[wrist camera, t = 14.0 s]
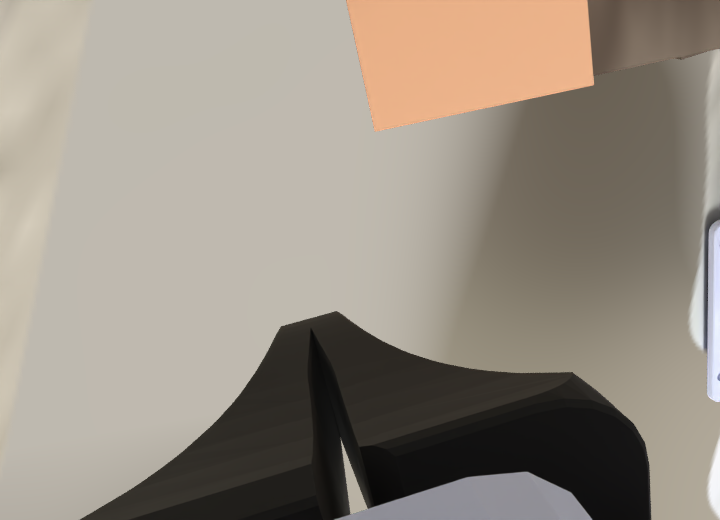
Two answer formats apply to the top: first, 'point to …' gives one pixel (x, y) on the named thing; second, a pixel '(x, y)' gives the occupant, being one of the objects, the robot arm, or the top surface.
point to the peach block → (467, 54)
